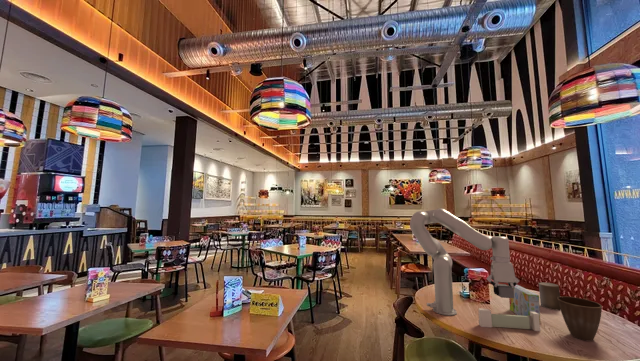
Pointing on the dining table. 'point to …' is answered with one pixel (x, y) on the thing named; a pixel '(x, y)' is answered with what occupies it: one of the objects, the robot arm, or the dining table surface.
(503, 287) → the block
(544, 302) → the pillar candle
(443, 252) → the robot arm
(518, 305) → the snack box
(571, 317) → the plant pot
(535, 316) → the pair of cream posts
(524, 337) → the dining table surface
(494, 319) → the door
